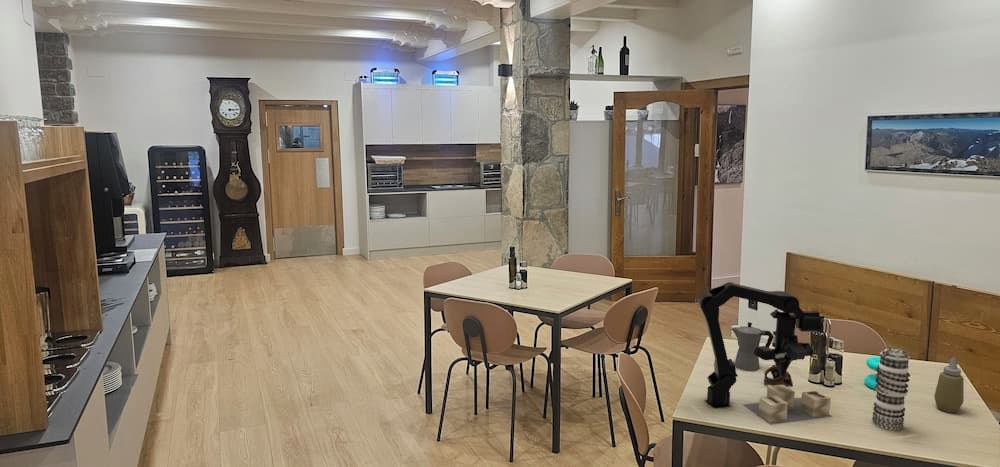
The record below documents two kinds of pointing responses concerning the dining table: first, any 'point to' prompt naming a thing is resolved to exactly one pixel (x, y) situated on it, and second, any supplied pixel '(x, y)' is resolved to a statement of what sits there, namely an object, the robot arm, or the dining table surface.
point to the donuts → (871, 379)
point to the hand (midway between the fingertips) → (781, 375)
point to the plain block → (782, 394)
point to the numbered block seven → (815, 403)
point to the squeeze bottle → (950, 388)
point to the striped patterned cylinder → (891, 389)
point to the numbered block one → (773, 409)
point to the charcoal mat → (792, 414)
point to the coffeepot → (749, 346)
